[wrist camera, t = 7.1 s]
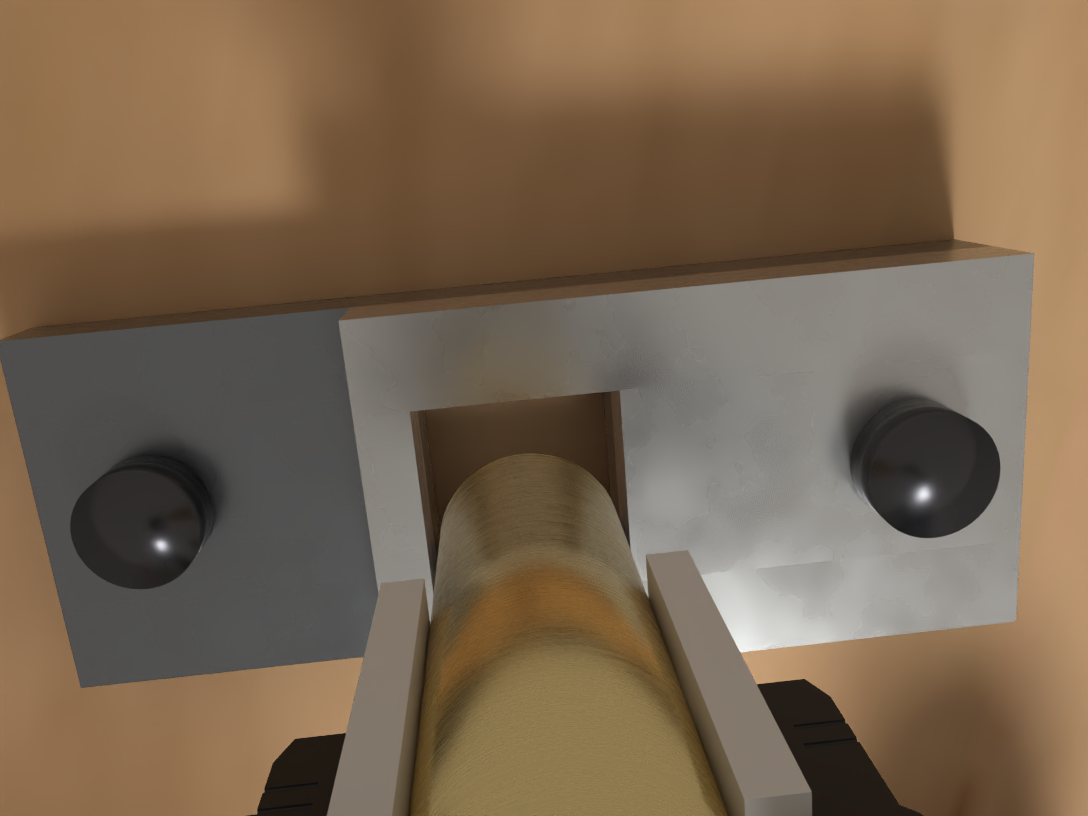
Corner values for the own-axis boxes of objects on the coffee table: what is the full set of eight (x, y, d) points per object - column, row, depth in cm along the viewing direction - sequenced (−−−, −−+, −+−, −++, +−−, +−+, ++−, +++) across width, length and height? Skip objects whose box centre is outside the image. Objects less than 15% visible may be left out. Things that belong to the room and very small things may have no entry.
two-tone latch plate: (946, 560, 30) (1045, 647, 24) (108, 651, 29) (24, 762, 23) (954, 239, 27) (1068, 259, 22) (32, 327, 26) (-82, 370, 21)
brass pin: (625, 609, 22) (790, 1141, 10) (451, 629, 21) (414, 1192, 10) (613, 443, 20) (782, 825, 9) (429, 463, 20) (359, 876, 9)
